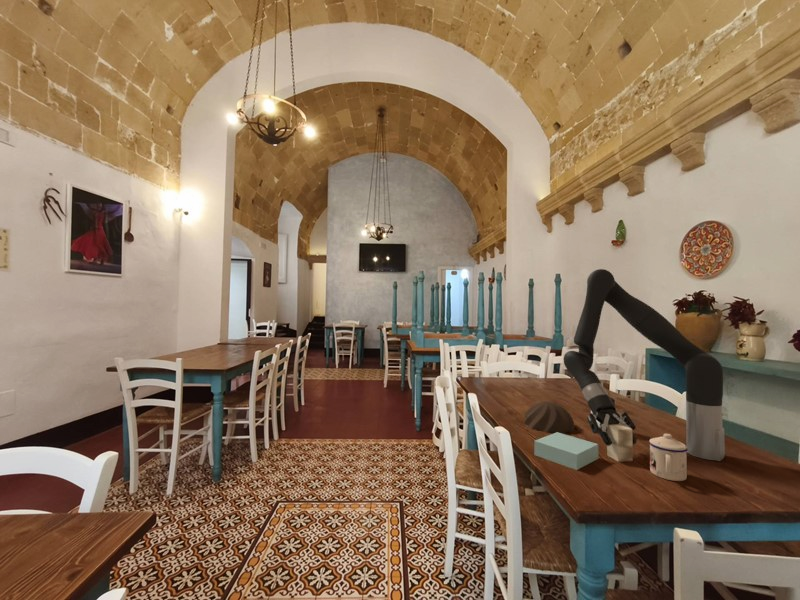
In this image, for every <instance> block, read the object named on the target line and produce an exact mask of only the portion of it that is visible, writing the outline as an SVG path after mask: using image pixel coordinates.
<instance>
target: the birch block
mask: <svg viewBox="0 0 800 600" xmlns="http://www.w3.org/2000/svg"><path fill="white" fill-rule="evenodd" d="M632 432H633V431H632V429H631V428H629V427H626V426H624V425H622V424H621V423H620V424H612V425H607V433H608V435H609V437H610V439H611V441H612V444H611V445H610V446H607V445H606V452H607V453H606V455H607V457H609V458H611V459H613V460H615V461H616V462H633V458H634V457H633V455H634V453H633V447H634V445H633V441H632Z"/></svg>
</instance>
